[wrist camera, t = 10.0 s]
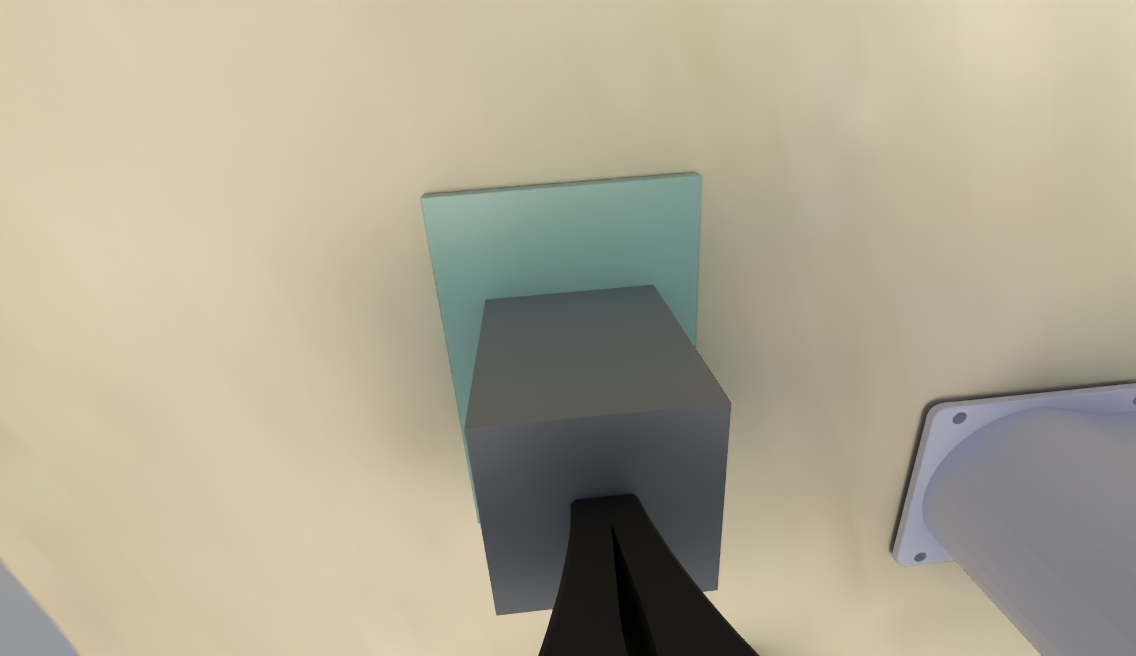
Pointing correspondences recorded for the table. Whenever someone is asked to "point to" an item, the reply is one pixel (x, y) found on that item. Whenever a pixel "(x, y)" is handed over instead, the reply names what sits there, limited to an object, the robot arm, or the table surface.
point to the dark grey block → (591, 432)
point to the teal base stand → (559, 251)
